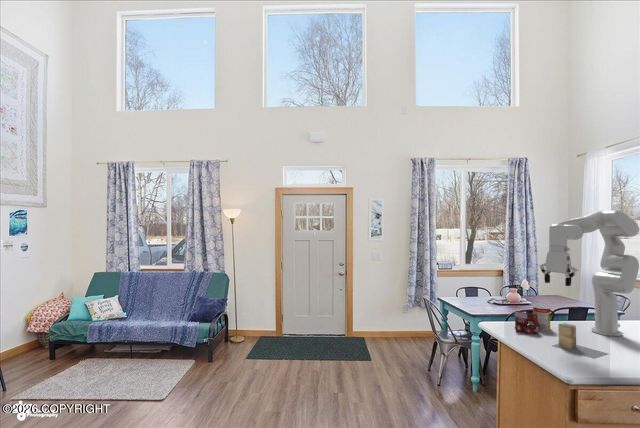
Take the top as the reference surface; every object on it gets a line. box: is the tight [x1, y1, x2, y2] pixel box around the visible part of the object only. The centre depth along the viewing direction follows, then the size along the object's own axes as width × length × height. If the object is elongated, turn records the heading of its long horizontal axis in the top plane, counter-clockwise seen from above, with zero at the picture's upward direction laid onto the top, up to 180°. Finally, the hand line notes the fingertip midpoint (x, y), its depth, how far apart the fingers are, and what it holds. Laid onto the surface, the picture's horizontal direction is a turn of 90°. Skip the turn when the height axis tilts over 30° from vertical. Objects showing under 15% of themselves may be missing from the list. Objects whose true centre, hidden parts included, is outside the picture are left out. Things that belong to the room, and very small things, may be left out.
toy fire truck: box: [514, 310, 541, 335], centre depth 191 cm, size 7×12×10 cm, turn 37°
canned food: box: [532, 304, 551, 332], centre depth 197 cm, size 8×8×12 cm
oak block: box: [557, 322, 577, 349], centre depth 169 cm, size 5×5×10 cm
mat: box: [551, 343, 609, 359], centre depth 164 cm, size 12×18×1 cm, turn 27°
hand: (557, 284), depth 177 cm, fingers open, 9 cm apart
